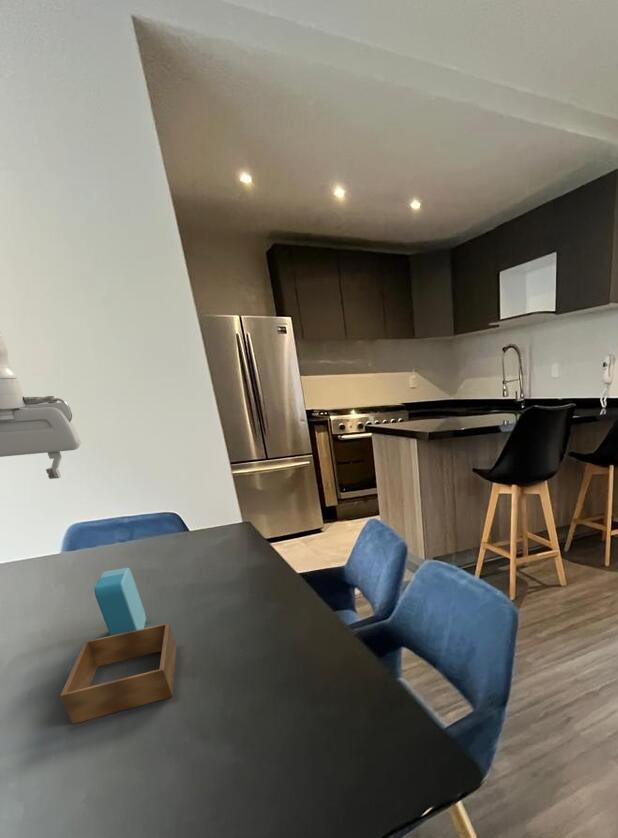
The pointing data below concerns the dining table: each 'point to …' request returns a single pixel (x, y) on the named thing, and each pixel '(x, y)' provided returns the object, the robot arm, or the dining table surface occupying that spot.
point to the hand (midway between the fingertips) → (23, 481)
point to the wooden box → (122, 692)
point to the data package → (120, 601)
